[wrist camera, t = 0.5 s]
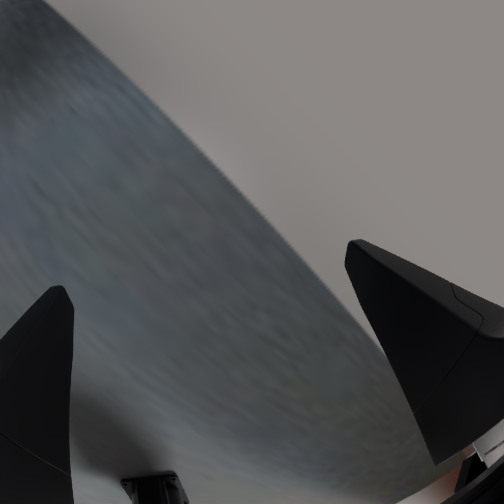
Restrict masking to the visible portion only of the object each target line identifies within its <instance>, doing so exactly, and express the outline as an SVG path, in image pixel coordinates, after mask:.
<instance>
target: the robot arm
mask: <svg viewBox="0 0 504 504" xmlns="http://www.w3.org/2000/svg"><path fill="white" fill-rule="evenodd" d="M345 268H346V271H347V273H348V275H349V278H350V281H351V283H352V285H353V288H354V290H355V293H356V295H357V298H358V300H359V303H360V305H361V307H362V309H363V311H364V313H365V315H366V317H367V319H368V321H369V322H370V324H371V326H372V328H373V330H374V332H375V334H376V336H377V338H378V340H379V342H380V344H381V346H382V348H383V350H384V352H385V354H386V356H387V358H388V360H389V362H390V364H391V366H392V369H393V371H394V373H395V375H396V377H397V379H398V381H399V383H400V386H401V388H402V390H403V392H404V394H405V396H406V399H407V401H408V403H409V405H410V408H411V410H412V412H413V413H414V414H413V415H414V417H415V419H416V422H417V424H418V426H419V429H420V431H421V433H422V436H423V438H424V441H425V443H426V446H427V448H428V450H429V453H430V456H431V458H432V461H433V463H434V465H435V466H438V465H439V464H441V463H443V462H444V461H446V460H447V459H449V458H451V457H452V456H454V455H455V454H457V453H458V452H460V451H461V450H463V449H464V448H466V447H467V446H469V445H470V444H473V446H474V448H475V450H476V451H475V452H474V453H473V454H472V455H470V456H469V457H468V458H466V459H465V460H463V463H462V467H461V471H460V474H459V477H458V481H457V484H456V487H455V490H454V492H455V494H454V495H453V496H451V497H450V498H448V499H447V500H445V501H444V502H442V503H441V504H504V308H503V307H501V306H499V305H497V304H495V303H492V302H490V301H488V300H486V299H484V298H482V297H479V296H477V295H475V294H473V293H471V292H469V291H467V290H465V289H463V288H461V287H459V286H457V285H455V284H453V283H451V282H450V283H449V281H447V280H445V279H443V278H441V277H439V276H438V275H435V274H434V273H432V272H429V271H428V270H426V269H424V268H421V267H419V266H417V265H415V264H413V263H411V262H409V261H407V260H405V259H403V258H401V257H399V256H396V255H395V254H392V253H390V252H388V251H386V250H384V249H382V248H379V247H377V246H375V245H373V244H371V243H369V242H367V241H364V240H362V239H357V240H351V241H349V243H348V246H347V251H346V257H345ZM73 330H74V307H73V304H72V302H71V300H70V298H69V296H68V294H67V292H66V290H65V288H64V287H63V286H61V285H59V286H52V287H50V288H49V289H48V290H47V291H46V292H45V293H44V294H43V295H42V296H41V297H40V298H39V299H38V300H37V301H36V302H35V303H34V304H33V305H32V306H31V307H30V308H29V309H28V310H27V311H26V312H25V313H24V315H23V316H22V317H21V318H20V319H19V320H18V321H17V322H16V323H15V324H14V325H13V326H12V327H11V329H10V330H9V331H8V332H7V333H6V334H5V335H4V336H3V338H2V339H1V340H0V504H74V499H73V490H72V479H71V468H70V446H69V408H70V386H71V372H72V360H73ZM121 485H122V487H123V488H124V490H125V491H126V493H127V494H128V496H129V497H130V499H131V500H132V504H189V500H188V498H187V496H186V493H185V491H184V489H183V487H182V485H181V482H180V480H179V478H178V476H177V475H175V474H171V475H163V476H156V477H147V478H137V479H124V480H121Z"/></svg>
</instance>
